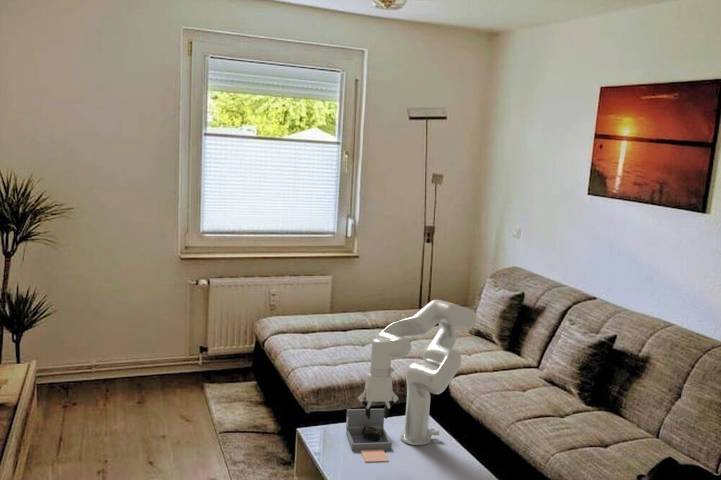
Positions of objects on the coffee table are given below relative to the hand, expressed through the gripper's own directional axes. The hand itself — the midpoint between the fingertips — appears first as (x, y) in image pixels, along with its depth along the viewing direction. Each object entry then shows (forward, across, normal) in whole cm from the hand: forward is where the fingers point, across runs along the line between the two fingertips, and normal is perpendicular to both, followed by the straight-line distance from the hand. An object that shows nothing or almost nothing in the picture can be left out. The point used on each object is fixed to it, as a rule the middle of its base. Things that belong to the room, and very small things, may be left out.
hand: (376, 417), depth 230 cm
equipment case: (+16, 0, -12) cm, 20 cm away
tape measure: (+15, 0, -12) cm, 19 cm away
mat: (+16, 0, 0) cm, 16 cm away
